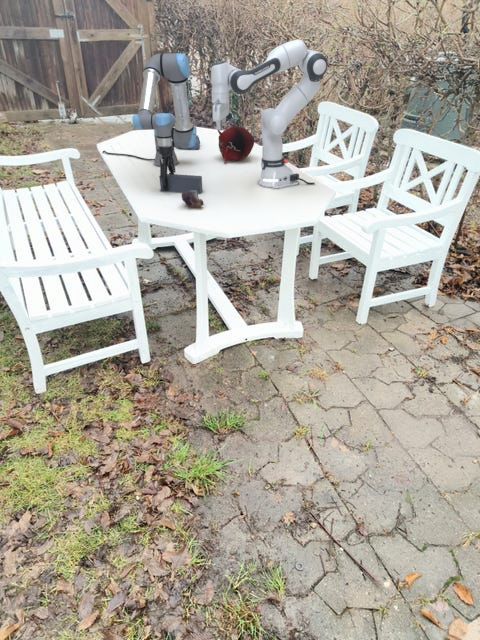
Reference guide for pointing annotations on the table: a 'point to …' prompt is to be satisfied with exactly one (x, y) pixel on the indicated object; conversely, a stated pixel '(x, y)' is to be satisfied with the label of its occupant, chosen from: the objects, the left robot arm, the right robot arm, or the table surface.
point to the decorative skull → (235, 143)
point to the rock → (192, 198)
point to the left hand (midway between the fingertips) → (169, 187)
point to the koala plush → (197, 144)
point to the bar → (183, 183)
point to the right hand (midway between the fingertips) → (221, 127)
